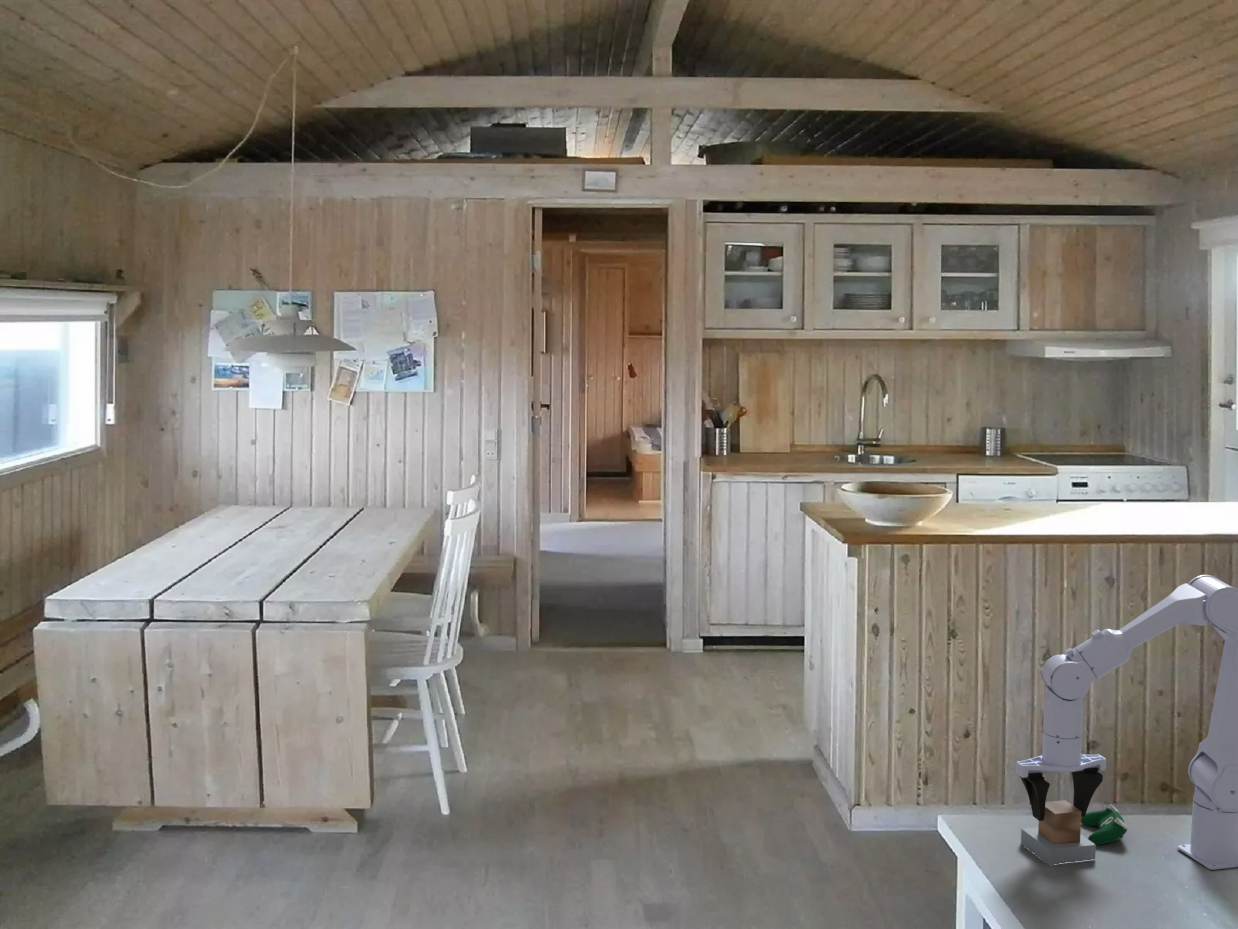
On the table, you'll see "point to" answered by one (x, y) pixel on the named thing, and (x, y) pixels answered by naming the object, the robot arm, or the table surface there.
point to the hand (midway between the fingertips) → (1058, 816)
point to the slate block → (1057, 848)
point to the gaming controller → (1105, 825)
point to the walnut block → (1061, 823)
